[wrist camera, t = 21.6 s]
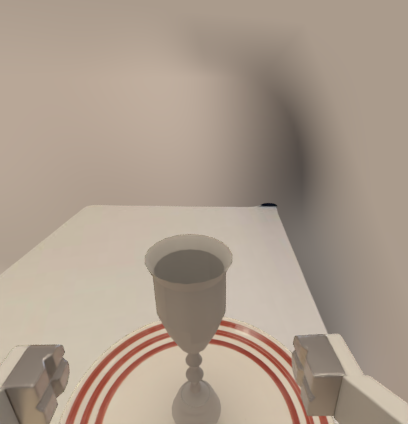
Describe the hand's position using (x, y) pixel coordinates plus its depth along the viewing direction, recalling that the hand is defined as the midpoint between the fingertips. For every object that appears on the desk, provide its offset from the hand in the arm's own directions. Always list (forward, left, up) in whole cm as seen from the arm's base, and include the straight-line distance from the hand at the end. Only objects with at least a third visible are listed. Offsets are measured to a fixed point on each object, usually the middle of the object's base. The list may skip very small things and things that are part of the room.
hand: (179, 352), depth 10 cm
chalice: (0, -12, -22) cm, 25 cm away
